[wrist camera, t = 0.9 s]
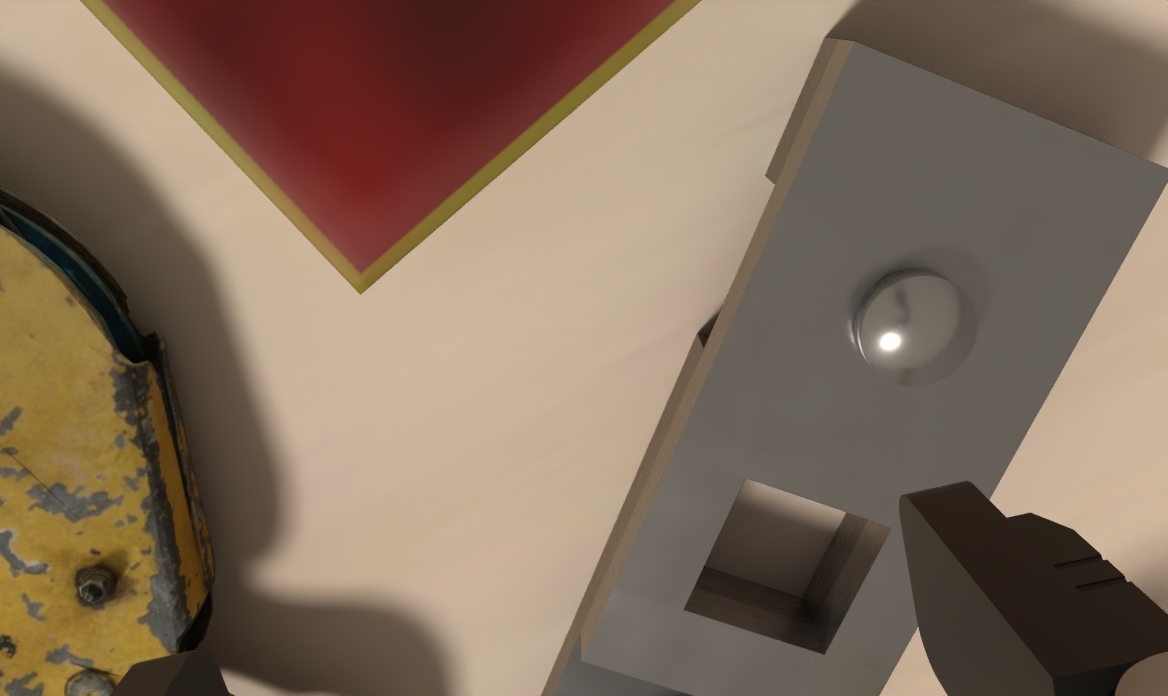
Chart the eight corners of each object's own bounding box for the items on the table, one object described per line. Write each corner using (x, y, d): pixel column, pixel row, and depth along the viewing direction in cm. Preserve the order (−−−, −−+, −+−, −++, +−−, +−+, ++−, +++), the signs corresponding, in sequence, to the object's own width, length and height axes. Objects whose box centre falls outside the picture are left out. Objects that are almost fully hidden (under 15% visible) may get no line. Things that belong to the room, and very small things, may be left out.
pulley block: (137, 1087, 31) (-732, 302, 23) (182, 936, 36) (-501, 262, 28) (516, 839, 31) (-219, -44, 22) (504, 726, 36) (-88, -15, 28)
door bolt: (825, 37, 27) (863, 42, 23) (1113, 153, 28) (1192, 175, 25) (492, 808, 35) (483, 899, 32) (724, 874, 37) (741, 969, 33)
